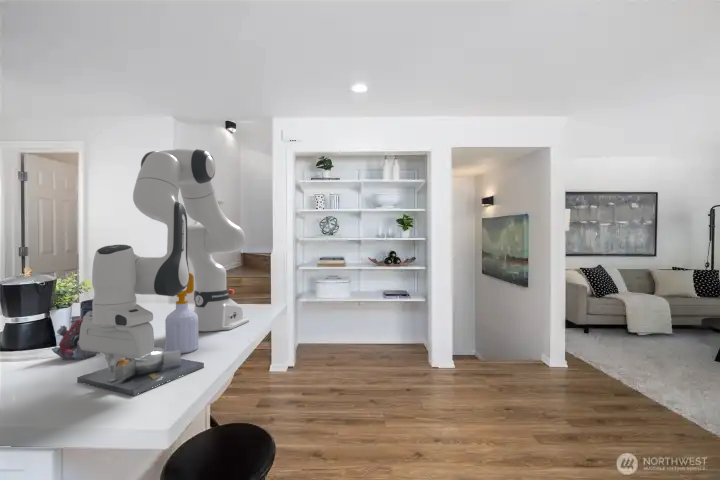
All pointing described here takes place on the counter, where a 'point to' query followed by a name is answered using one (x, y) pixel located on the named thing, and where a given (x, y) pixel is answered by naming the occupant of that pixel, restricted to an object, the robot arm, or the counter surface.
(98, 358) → the counter surface
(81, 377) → the base plate
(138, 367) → the grey disc housing
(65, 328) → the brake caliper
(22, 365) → the counter surface
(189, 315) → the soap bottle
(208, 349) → the counter surface
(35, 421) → the counter surface
